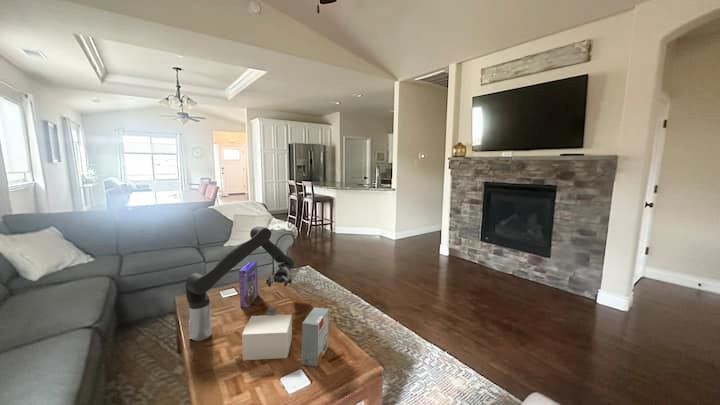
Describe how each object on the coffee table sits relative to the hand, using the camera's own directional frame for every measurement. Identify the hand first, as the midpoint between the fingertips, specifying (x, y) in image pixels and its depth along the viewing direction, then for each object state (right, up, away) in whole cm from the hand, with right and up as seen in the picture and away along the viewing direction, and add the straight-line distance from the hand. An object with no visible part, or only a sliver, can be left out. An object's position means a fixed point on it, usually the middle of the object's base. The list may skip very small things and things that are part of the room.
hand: (277, 285), depth 162 cm
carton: (+2, -25, -21) cm, 33 cm away
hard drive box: (+26, -26, -26) cm, 45 cm away
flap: (+2, -12, -21) cm, 25 cm away
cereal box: (-26, -18, +27) cm, 41 cm away
